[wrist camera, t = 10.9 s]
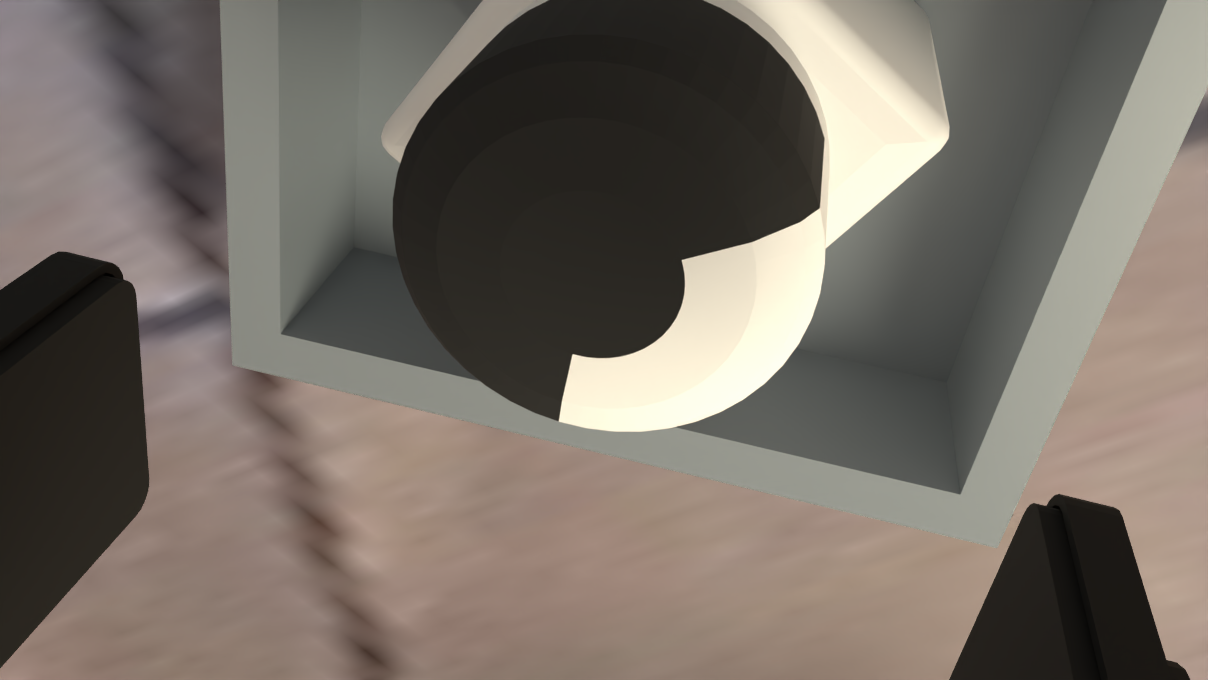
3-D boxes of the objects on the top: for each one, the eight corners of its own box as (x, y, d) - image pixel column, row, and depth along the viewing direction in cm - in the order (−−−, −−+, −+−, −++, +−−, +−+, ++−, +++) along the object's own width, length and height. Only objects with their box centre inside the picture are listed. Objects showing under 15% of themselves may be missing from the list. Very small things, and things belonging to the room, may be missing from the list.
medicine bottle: (479, 31, 26) (241, 271, 16) (688, -229, 22) (551, -132, 12) (706, 233, 28) (618, 567, 18) (935, 18, 24) (991, 284, 14)
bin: (1302, -398, 20) (1435, -413, 16) (975, 409, 30) (997, 548, 25) (338, -561, 22) (198, -618, 17) (324, 259, 31) (232, 365, 27)
